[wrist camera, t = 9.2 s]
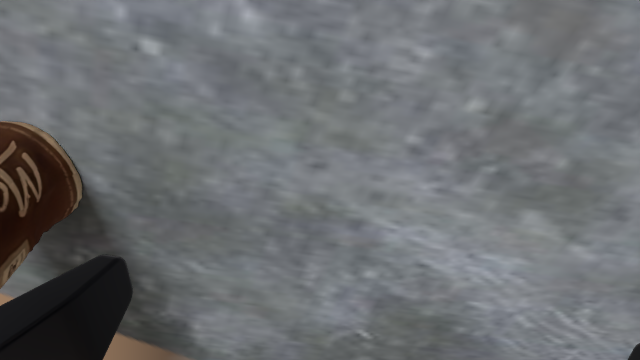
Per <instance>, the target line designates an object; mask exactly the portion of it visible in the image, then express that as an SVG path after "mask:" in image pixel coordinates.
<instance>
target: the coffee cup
mask: <svg viewBox="0 0 640 360" xmlns="http://www.w3.org/2000/svg"><path fill="white" fill-rule="evenodd" d="M81 198H82V183H81V179H80V176H79V174H78V172H77V170H76V169H75V167H74V165H73V163H72V161H71V160H70V158H69V157H68V156H67V154H66V153H65V151H64V150H63V148H62V147H61V146H60V145H59V144H58V143H57V142H56V141H55V139H54V138H53V137H51V136H50V135H49V134H47V133H46V132H44V131H42V130H41V129H39V128H37V127H35V126H32V125H30V124H27V123H21V122H7V121H1V122H0V289H1V288H2V286H3V285H4V284H5V283H6V282H7V280H8V279H9V278H10V277H11V275H12V274H13V273H14V272H15V271H16V269H17V268H18V267H19V266H20V265H21V263H23V261H24V259H25V258H26V257H27V255H28V253H29V252H30V251H32V250H33V247H34V246H35V245H36V244H37V243H38V242H39V240H40V238H41V236H42V234H43V233H44V232H46V231H48V230H49V229H50V228H51V227H52V226H53V225H54V224H55V223H57V222H59V221H61V220H63V219H64V218H66V217H67V216H68V215H69V214H71V213H72V212H73V210H74V209H76V208H77V207H78V203H79V201H80V200H81Z"/></svg>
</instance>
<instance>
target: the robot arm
mask: <svg viewBox="0 0 640 360" xmlns="http://www.w3.org/2000/svg"><path fill="white" fill-rule="evenodd" d="M132 293H133V288H132V284H131V280H130V276H129V272H128V268H127V265H126V262H125V260H124V259H123V258H121V257H117V256H111V255H100V256H98V257H96V258H94V259H92V260H90V261H88V262H86V263H84V264H82V265H80V266H78V267H76V268H74V269H72V270H70V271H68V272H66V273H64V274H62V275H60V276H58V277H56V278H54V279H52V280H50V281H48V282H46V283H44V284H42V285H40V286H38V287H36V288H34V289H32V290H30V291H29V292H27V293H25V294H23V295H21V296H19V297H17V298H15V299H13V300H11V301H9V302H7V303H5V304H3V305H1V306H0V360H103V358H104V356H105V354H106V352H107V350H108V348H109V345H110V343H111V341H112V339H113V337H114V335H115V333H116V331H117V329H118V327H119V324H120V322H121V320H122V318H123V316H124V314H125V312H126V310H127V308H128V306H129V303H130V301H131V298H132ZM628 360H640V343H639V344H637V345H636V346H635V348H634V349H633V351H632V353H631V355H630V356H629V358H628Z"/></svg>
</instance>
